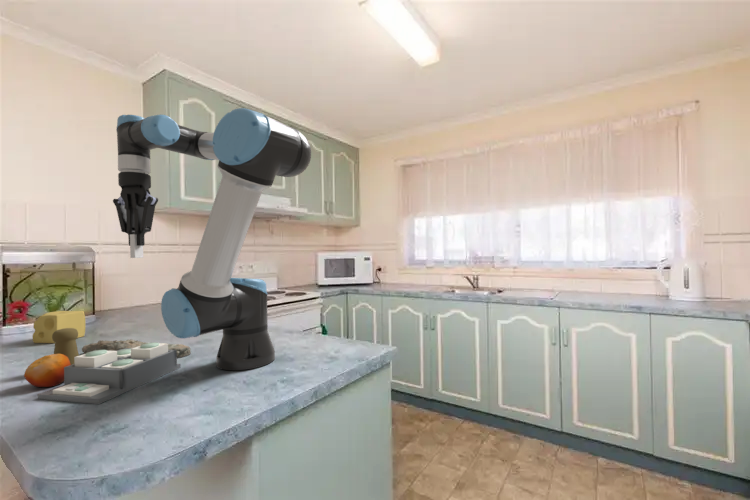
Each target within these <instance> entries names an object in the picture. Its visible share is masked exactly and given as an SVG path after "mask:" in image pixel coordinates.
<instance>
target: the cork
mask: <svg viewBox="0 0 750 500" xmlns="http://www.w3.org/2000/svg"><path fill="white" fill-rule="evenodd" d="M77 337H78V331H77V330H76V329H75V328H64V329H60V330H57V331H55V332H54V333H53V335H52V339H53V341H54V342H55V343H54V348H53V349H54V350H53V354H63V355H65V356H67V357H68V359H69V361H70V364H71V365H73V364H75V359H74V357H76V356H80V354H79V350H78V345H77V341H76V340H77V339H78V338H77Z"/></svg>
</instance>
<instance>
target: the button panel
mask: <svg viewBox="0 0 750 500" xmlns="http://www.w3.org/2000/svg"><path fill="white" fill-rule="evenodd" d="M124 349H132V348H124ZM124 349H121V350H124ZM118 351H120V350H118ZM123 359H133V360H143V362H140V363H138V364H135V365H132V366H129V367H127V368H124V369H111V368H101V367H102V366H105V365H108V364H111V363H113V362H115V361H113V362H110V363H107V364H104V365H101V366H98V367H95V368H94V367H76V366H75V364H73V365H70V366H66V367H64V382H63V383H64V384H63V385H61V386H57V387H54V388H52V389H49V390H45V391H43V392H41V393H38V394H37V399H38V400H47V401H48V400H49V401H57V402H68V403H69V402H70V403H71V402H72V403H85V404H95V405H101V404H103V403H104V402H106V401H109V400H112V399H113V398H116V397H118V396H120V395H123V394H124V393H127V392H129V391H132V390H133V389H136V388H138V387H140V386H142V385H145V384H147V383H149V382H151V381H154V380H157V379H158V378H160V377H163V376H165V375H167V374H169V373H171V372H175V371H176V370H178V369H180V368H181V366H182V365H181V363H178V361H177V359H178V358H177V351H176V350H168V352H167V353H164V354H162V355H159V356H156V357H154V358H151V359H142V358H131V356H128V357H125V358H122V357H117V360H116V361H118V360H123Z"/></svg>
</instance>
